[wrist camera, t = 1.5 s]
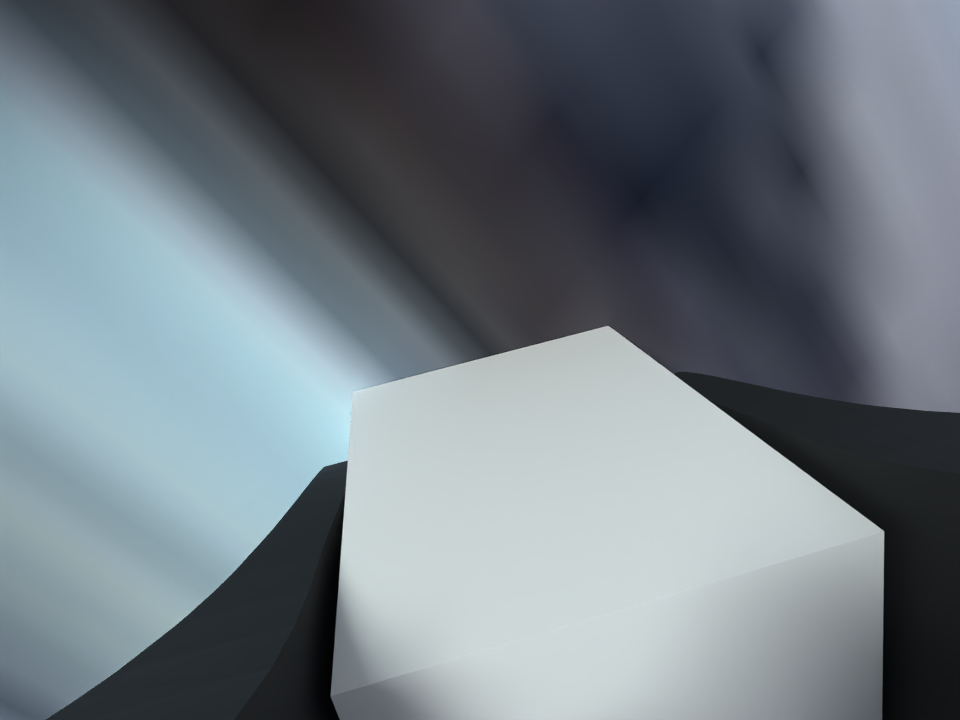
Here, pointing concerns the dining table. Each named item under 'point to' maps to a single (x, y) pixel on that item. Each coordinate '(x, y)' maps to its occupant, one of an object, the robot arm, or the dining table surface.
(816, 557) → the white matte cuboid
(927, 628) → the robot arm
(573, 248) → the dining table surface
